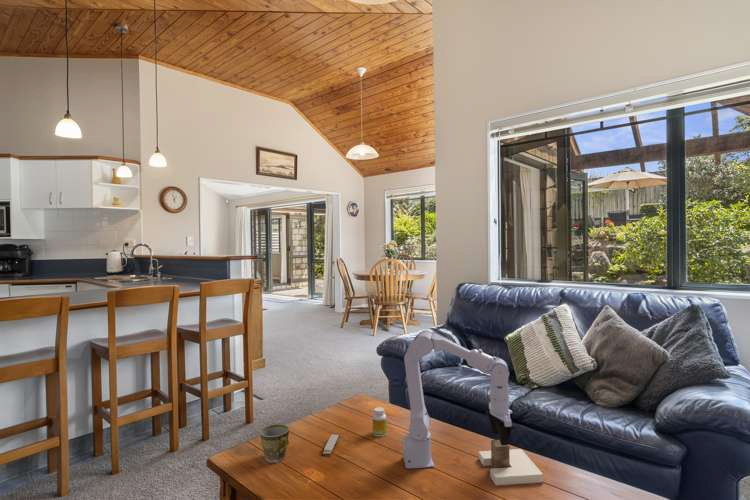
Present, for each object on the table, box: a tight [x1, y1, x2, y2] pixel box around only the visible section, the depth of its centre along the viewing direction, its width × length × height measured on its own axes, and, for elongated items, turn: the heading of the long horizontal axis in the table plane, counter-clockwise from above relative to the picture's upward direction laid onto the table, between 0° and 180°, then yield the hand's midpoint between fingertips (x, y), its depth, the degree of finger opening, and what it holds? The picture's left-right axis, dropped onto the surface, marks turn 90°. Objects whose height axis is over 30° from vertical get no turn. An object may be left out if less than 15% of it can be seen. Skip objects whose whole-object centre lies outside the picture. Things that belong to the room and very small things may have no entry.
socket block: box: [478, 448, 544, 486], centre depth 133 cm, size 15×16×2 cm
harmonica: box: [321, 434, 340, 457], centre depth 152 cm, size 15×3×2 cm, turn 172°
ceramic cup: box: [259, 423, 290, 464], centre depth 142 cm, size 13×10×10 cm
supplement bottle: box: [372, 406, 388, 438], centre depth 160 cm, size 5×5×10 cm
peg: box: [490, 439, 510, 469], centre depth 133 cm, size 4×4×9 cm
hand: (499, 439), depth 133 cm, fingers open, 7 cm apart
